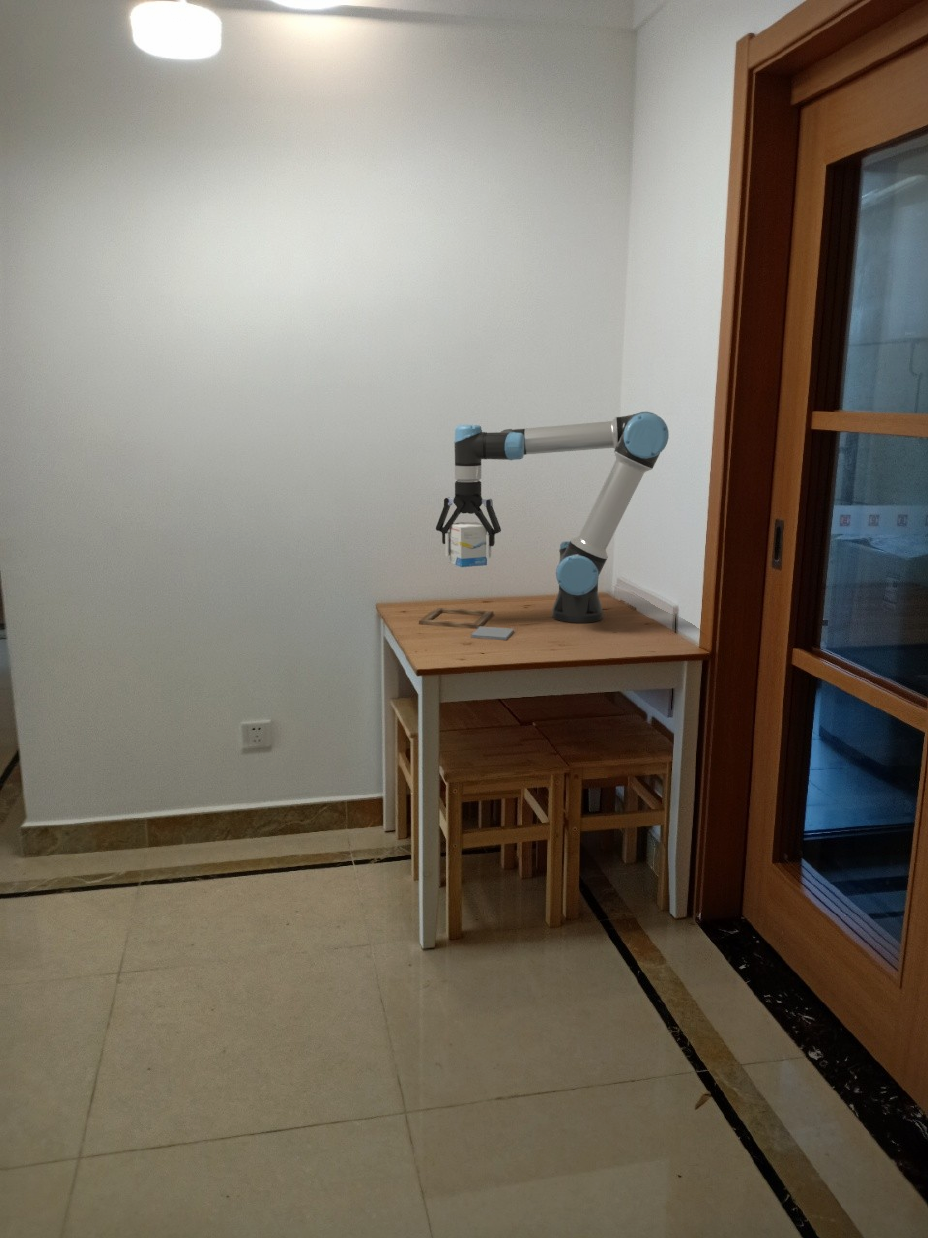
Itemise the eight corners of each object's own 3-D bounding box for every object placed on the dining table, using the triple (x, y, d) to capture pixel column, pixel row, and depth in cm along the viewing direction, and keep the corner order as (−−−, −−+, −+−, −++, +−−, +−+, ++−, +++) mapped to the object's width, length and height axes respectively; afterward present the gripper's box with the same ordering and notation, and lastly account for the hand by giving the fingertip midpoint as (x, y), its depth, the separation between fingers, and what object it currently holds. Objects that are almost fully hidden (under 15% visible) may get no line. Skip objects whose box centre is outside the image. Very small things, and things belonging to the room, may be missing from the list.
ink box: (487, 565, 290) (488, 524, 288) (460, 567, 287) (460, 526, 284) (475, 560, 298) (475, 520, 295) (449, 562, 295) (448, 522, 292)
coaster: (514, 631, 288) (514, 628, 288) (506, 640, 278) (506, 637, 278) (479, 629, 290) (479, 626, 290) (470, 637, 281) (470, 634, 281)
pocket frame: (493, 614, 308) (493, 611, 308) (478, 628, 291) (478, 625, 291) (436, 610, 312) (436, 607, 312) (418, 624, 296) (418, 620, 295)
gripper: (512, 480, 287) (511, 556, 292) (432, 477, 294) (433, 552, 299) (505, 482, 280) (504, 560, 285) (423, 480, 287) (424, 556, 292)
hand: (468, 556), depth 292 cm, fingers closed on ink box, 11 cm apart
